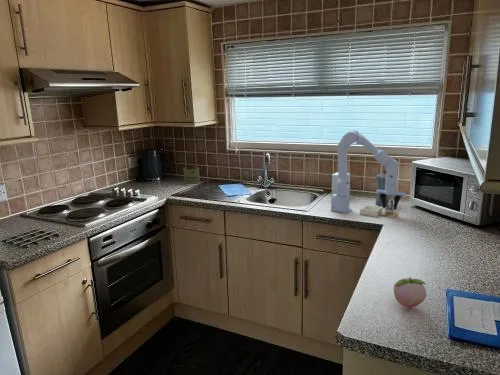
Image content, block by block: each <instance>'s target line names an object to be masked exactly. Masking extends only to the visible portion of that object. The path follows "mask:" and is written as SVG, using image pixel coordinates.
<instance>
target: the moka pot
mask: <svg viewBox="0 0 500 375" xmlns="http://www.w3.org/2000/svg"><path fill="white" fill-rule="evenodd" d="M386 172H387V170H384V171H383V173H379V174H376V175H375V180H376V188H377V190H385V182H386ZM387 199H392V195H387V198H386V208H387ZM375 206H378V207H383V204H382V201H381V199H380V194H376V198H375Z"/></svg>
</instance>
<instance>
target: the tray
mask: <svg viewBox="0 0 500 375" xmlns="http://www.w3.org/2000/svg"><path fill="white" fill-rule="evenodd" d="M383 209H384V208H383V207H382V206H378V205H370V204H365V205H364V206H362V207H361V208H359V215H362V216H368V217H374V218H378V217H379V216H380V215H381V213H382V212H383Z"/></svg>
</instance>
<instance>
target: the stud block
mask: <svg viewBox="0 0 500 375" xmlns="http://www.w3.org/2000/svg"><path fill="white" fill-rule="evenodd" d="M398 215H399V212H397V211H394V213H386V212H385V210H383V211H382V213H381V214H380V215H379V216H380V217H386V218H392V219H395V218H396V217H397V216H398Z"/></svg>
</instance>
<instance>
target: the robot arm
mask: <svg viewBox="0 0 500 375" xmlns="http://www.w3.org/2000/svg"><path fill="white" fill-rule="evenodd" d="M353 144H355V145H360V146H363V147H364V148H365V149H366V150H368V151H369V152H370V153H371V154H373V157H374V159H375V160H376V161H377V162H378V163H379V164H380V165H381V166H383V167H385V171H386V182H385V190H378V189H376V191H375V193H376V195H377V194H380V199H381V201H382V204H383V209H385V208H387V207H386V198H387V195H391V197H392V196H393V209H394V211H396V210H397V208H398V204H399V202H400V200H401V198H406V192H402V191H397V189H398V179H399V178H398V173H399V172H398V170H399V166H400V165H399V162H398V161H397V159H394V157H391V156H390V155H389V154H388V153H387V150H383V149H378V148H377V147H376V146H375V144H373V143H372V142H371V141H370V140H369V139H367V138H366V137H365V135H364V134H362V133H359V131H357V129H353V130H350V131H348V132H347V133H345V134H344V135H343V136H342V138H341V139H340V141H339V143H338V144H337V172H338V182H337V187H336V194H333V195H332V194H331V201H330V211H331V212H337V213H344V214H348V213H349V212H351V211H352V210H353V209H352V208H350V196H351V195H350V194H351V193H350V194H349V192H348V191H349V190H350V191H351V183H350V184H349V179H348V173H349V172H348V169H349V168H348V148H349V147H351V145H353Z"/></svg>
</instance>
